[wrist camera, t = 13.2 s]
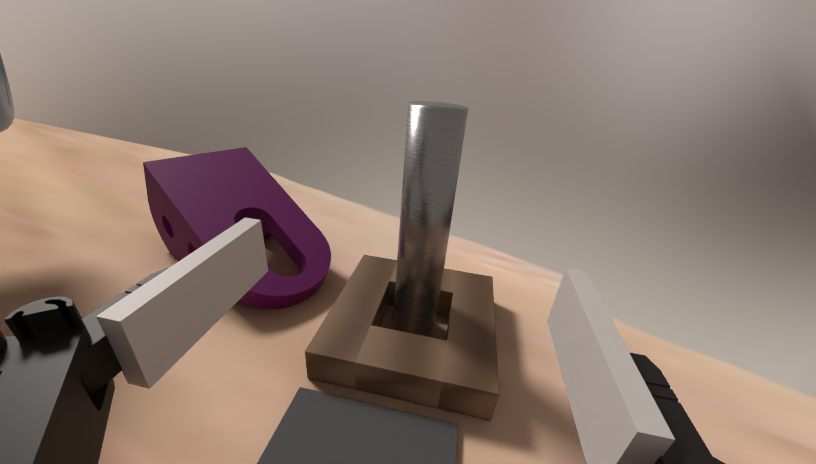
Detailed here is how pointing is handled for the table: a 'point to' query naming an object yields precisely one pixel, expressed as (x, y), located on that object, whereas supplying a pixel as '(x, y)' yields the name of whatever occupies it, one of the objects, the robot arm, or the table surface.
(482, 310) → the collar
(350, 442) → the mat
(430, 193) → the peg
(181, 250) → the mounting bracket
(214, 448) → the table surface
